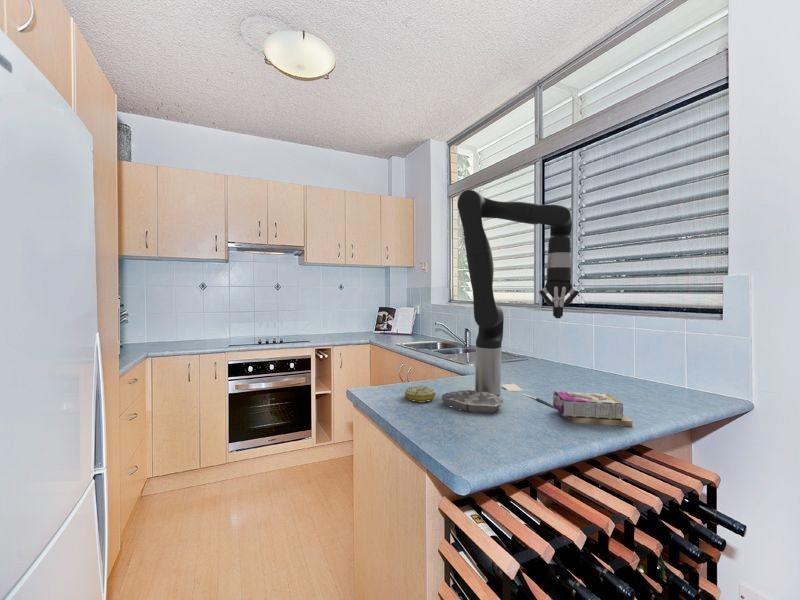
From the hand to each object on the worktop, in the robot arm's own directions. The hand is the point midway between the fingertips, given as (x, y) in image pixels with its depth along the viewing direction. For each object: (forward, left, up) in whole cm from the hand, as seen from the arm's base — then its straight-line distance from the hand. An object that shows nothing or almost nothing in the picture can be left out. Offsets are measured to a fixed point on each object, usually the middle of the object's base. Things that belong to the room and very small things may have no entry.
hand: (557, 318), depth 125 cm
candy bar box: (-3, -14, -25) cm, 29 cm away
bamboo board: (+8, -11, -29) cm, 32 cm away
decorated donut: (-46, -4, -29) cm, 55 cm away
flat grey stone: (-28, -8, -30) cm, 42 cm away
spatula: (-7, +6, -30) cm, 31 cm away
